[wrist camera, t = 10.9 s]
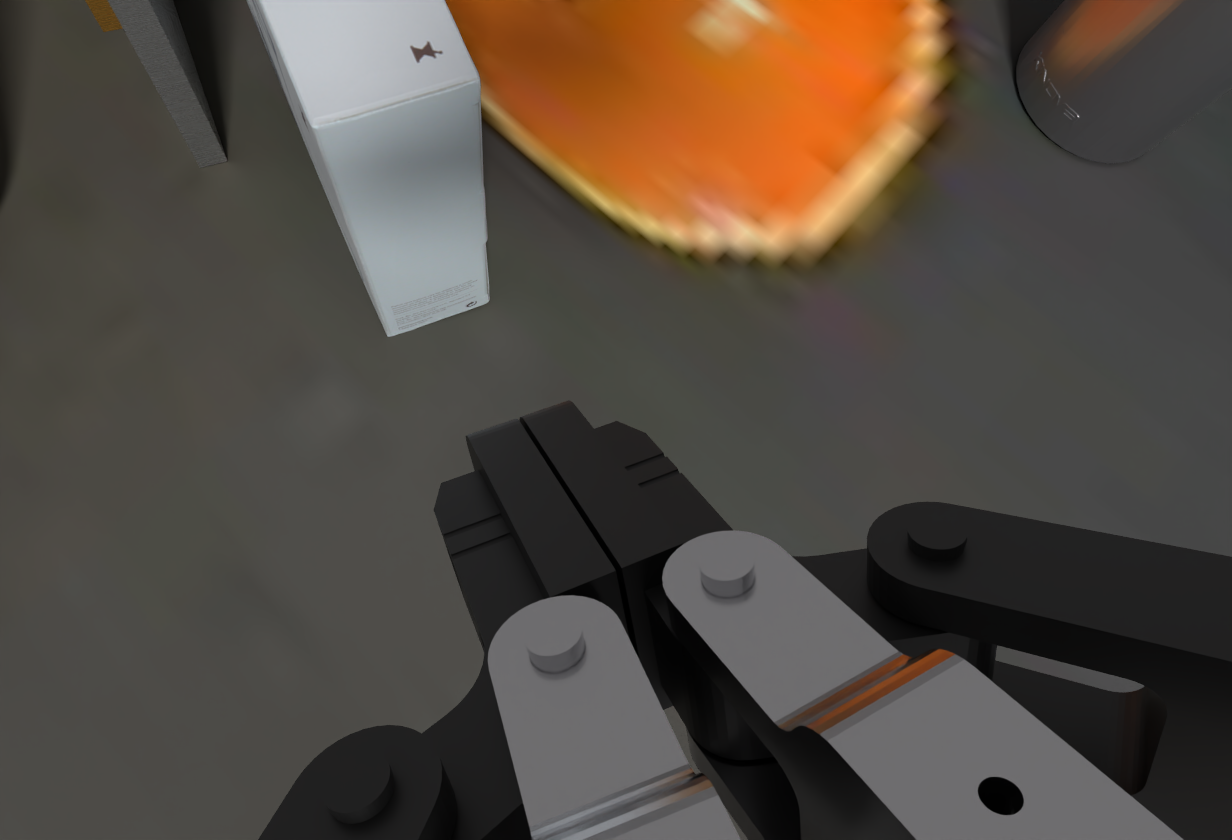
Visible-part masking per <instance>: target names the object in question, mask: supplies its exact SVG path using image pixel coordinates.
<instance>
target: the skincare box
mask: <svg viewBox="0 0 1232 840" xmlns="http://www.w3.org/2000/svg"><path fill="white" fill-rule="evenodd" d="M247 3H248V5H249V8H250V10H251V13H252V15H253V18H254V20H255V23H256V26H257V28H258V31H259V33H260V36H261V38H262V40H263V43H264V45H265V48H266V50H267V53H268V55H269V58H270V60H271V63H272V65H273V68H274V70H275V72H276V75H277V77H278V80H279V82H280V85H281V87H282V90H283V92H284V95H285V97H286V100H287V102H288V104H289V107H290V109H291V112H292V114H293V116H294V119H295V121H296V124H297V126H298V128H299V131H300V133H301V136H302V138H303V140H304V143H305V145H306V148H307V150H308V152H309V155H310V157H311V160H312V162H313V164H314V167H315V169H316V172H317V174H318V176H319V179H320V181H321V184H322V186H323V188H324V191H325V193H326V196H327V198H328V200H329V203H330V205H331V208H332V210H333V212H334V215H335V217H336V220H337V222H338V224H339V227H340V229H341V231H342V234H343V236H344V238H345V241H346V243H347V245H348V248H349V250H350V253H351V255H352V257H353V260H354V262H355V264H356V267H357V269H358V271H359V274H360V276H361V278H362V280H363V283H364V285H365V287H366V289H367V292H368V294H369V296H370V298H371V301H372V303H373V305H374V307H375V310H376V312H377V314H378V316H379V319H380V321H381V323H382V325H383V328H384V330H385V332H386V334H387V336H388V337H389V336H394V335H397V334H400V333H403V332H407V331H410V330H413V329H415V328H418V327H421V326H424V325H426V324H429V323H432V322H435V321H438V320H441V319H444V318H446V317H449V316H452V315H455V314H458V313H461V312H464V311H467V310H470V309H472V308H475V307H478V306H481V305H483V304H486V303H487V302H489V300H490V296H489V278H488V266H487V254H486V241H487V239H488V236H487V221H486V205H485V189H484V185H483V151H482V124H481V98H480V92H481V83H480V76H479V73H478V71H477V69H476V67H475V65H474V63H473V61H472V58H471V56H470V54H469V52H468V50H467V48H466V46H465V44H464V41H463V39H462V37H461V34H460V32H459V30H458V28H457V25H456V23H455V21H454V19H453V17H452V15H451V13H450V10H449V8H448V6H447V4H446V2H445V0H247Z"/></svg>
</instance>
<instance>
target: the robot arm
mask: <svg viewBox="0 0 1232 840" xmlns="http://www.w3.org/2000/svg"><path fill="white" fill-rule="evenodd" d="M1016 79H1017V86H1018V90H1019V94H1020V97H1021V100H1022V102H1023V104H1024V106H1025V108H1026V110H1027V112H1028V114H1029V115H1030V117H1031V118H1032V119H1033V121H1034V122H1035V124H1036V125H1037V126H1038V127H1039V128H1040V129H1041V130H1042V131H1043V132H1044V133H1045V134H1046V135H1047V136H1048V138H1050V139H1051V140H1052V141H1054V142H1055V143H1056V144H1058V145H1059V146H1060V147H1062V148H1063V149H1065V150H1067V151H1069V152H1071V153H1073V154H1075V155H1076V156H1078V157H1081V158H1084V159H1088V160H1091V161H1094V162H1101V163H1109V164H1113V163H1124V162H1128V161H1131V160H1134V159H1137V158H1139V157H1140V156H1142V155H1143V154H1145V153H1146V152H1148V151H1149V150H1150V149H1152V148H1153V147H1154V146H1156V145H1157V144H1158V143H1160V142H1161V141H1162V140H1164V139H1165V138H1166V137H1168V136H1169V135H1170V134H1172V133H1173V132H1174V131H1176V130H1177V129H1178V128H1180V127H1181V126H1182V125H1184V124H1185V123H1186V122H1188V121H1189V120H1190V119H1192V118H1193V117H1194V116H1196V115H1197V114H1198V113H1199V112H1201V111H1203V110H1204V109H1205V108H1206V107H1208V106H1209V105H1210V104H1212V103H1213V102H1214V101H1216V100H1217V99H1218V98H1220V97H1221V96H1222V95H1224V94H1225V93H1226V92H1228V91H1229V90H1230V89H1232V0H1064V1H1063V2H1062V4H1061V5H1060V6H1059V7H1058V8H1057V9H1056V10H1055V11H1054V13H1053V14H1052V15H1051V16H1050V17H1049V18H1048V19H1047V20H1046V22H1045V23H1044V24H1043V25H1042V26H1041V27H1040V28H1039V29H1038V30H1037V32H1036V33H1035V34H1034V35H1033V36H1032V37H1031V38H1030V39H1029V41H1028V42H1027V43H1026V44H1025V46H1024V48H1023V49H1022V51H1021V53H1020V55H1019V59H1018V63H1017V67H1016ZM519 420H520V421H519ZM519 420H518V419H514V420H511V421H508V422H505V423H502V424H499V425H496V426H493V427H490V428H487V429H484V430H481V431H478V432H475V433H472V434H469V435H467V436H466V441H467V445H468V449H469V453H470V456H471V459H472V463H473V466H474V470H475V471H474V472H471V473H469V474H466V475H463V476H460V477H457V478H454V479H452V480H449V481H446V482H443V483H441V486H440V489H439V493H438V496H437V500H436V504H435V507H434V512H435V515H436V518H437V521H438V524H439V527H440V530H441V532H442V535H443V538H444V541H445V544H446V547H447V550H448V553H449V556H450V559H451V562H452V565H453V568H454V571H455V574H456V577H457V580H458V583H459V585H460V588H461V591H462V594H463V597H464V600H465V602H466V605H467V608H468V610H469V613H470V616H471V618H472V621H473V623H474V626H475V629H476V632H477V634H478V637H479V640H480V642H481V645H482V648H483V650H484V661H483V665H482V668H481V671H480V674H479V676H478V678H477V680H476V682H475V684H474V686H473V687H472V688H471V690H470V691H469V693H468V694H467V695H466V697H465V698H464V699H463V700H462V701H461V702H460V703H459V704H458V705H457V706H456V707H455V708H454V709H453V710H451V711H450V712H449V713H448V714H447V715H446V716H444V717H443V718H442V719H440V720H439V721H438V722H436V723H435V724H434V725H432V726H431V727H430V728H429V729H427V730H426V731H425V732H423V733H422V734H421V733H420V732H418V731H415V730H413V729H411V728H407V727H403V726H394V725H385V726H376V727H371V728H367V729H363V730H360V731H358V732H355V733H352V734H350V735H348V736H346V737H344V738H342V739H340V740H338V741H337V742H335V743H334V744H332V745H331V746H329V747H328V748H326V749H325V750H324V751H323V752H322V753H320V754H319V755H318V756H317V757H316V758H315V759H314V760H313V761H312V762H311V763H310V764H309V765H308V766H307V767H306V768H305V769H304V770H303V772H302V773H301V775H300V776H299V777H298V779H297V780H296V781H295V783H294V785H293V786H292V788H291V789H290V791H289V792H288V794H287V796H286V797H285V799H284V800H283V802H282V803H281V805H280V806H279V808H278V810H277V811H276V813H275V814H274V816H273V817H272V819H271V821H270V822H269V824H268V825H267V827H266V828H265V830H264V832H263V833H262V835H261V836H260V838H259V839H258V840H740V838H739V836H738V834H737V832H736V829H735V827H734V825H733V823H732V821H731V819H730V817H729V815H728V813H727V811H726V809H727V810H728V812H729V813H730V815H731V816H732V817H733V819H734V820H735V822H736V823H737V824H738V826H739V827H740V829H741V830H742V832H743V833H744V834H745V836H746V837H747V839H748V840H1232V557H1229V556H1224V555H1218V554H1213V553H1208V552H1203V551H1197V550H1192V549H1187V548H1181V547H1176V546H1171V545H1165V544H1160V543H1155V542H1150V541H1144V540H1139V539H1134V538H1128V537H1123V536H1118V535H1112V534H1107V533H1102V532H1096V531H1091V530H1086V529H1081V528H1075V527H1070V526H1065V525H1059V524H1054V523H1049V522H1043V521H1038V520H1033V519H1027V518H1022V517H1017V516H1012V515H1006V514H1001V513H996V512H990V511H985V510H980V509H974V508H969V507H964V506H958V505H953V504H947V503H940V502H917V503H910V504H905V505H902V506H898V507H895V508H893V509H891V510H889V511H887V512H885V513H884V514H882V515H881V516H879V517H878V518H877V519H876V520H875V521H874V522H873V524H872V526H871V527H870V529H869V532H868V536H867V549H860V550H853V551H846V552H839V553H833V554H826V555H819V556H808V557H794V556H791V555H789V554H788V553H787V552H786V551H785V550H784V549H783V548H782V547H780V546H779V545H778V544H776V543H775V542H773V541H772V540H770V539H768V538H766V537H763V536H760V535H758V534H754V533H750V532H745V531H733V529H732V528H731V527H730V526H729V525H728V524H727V523H726V522H725V521H724V520H723V518H722V517H721V516H720V515H719V514H718V513H717V512H716V511H715V510H714V508H713V507H712V506H711V505H710V504H709V503H708V502H707V501H706V500H705V498H704V497H703V496H702V495H701V494H700V493H699V492H698V491H697V490H696V488H695V487H694V486H693V485H692V484H691V483H690V482H689V481H688V480H687V478H686V477H685V476H684V475H683V474H682V473H679V471H678V468H677V467H676V466H675V465H674V464H673V463H672V462H671V461H670V460H669V459H668V457H665V456H664V453H663V452H662V451H661V450H660V449H659V447H658V446H657V445H656V444H655V443H654V442H653V441H652V440H651V439H650V437H649V436H648V435H647V434H646V433H644V432H642V431H639V430H637V429H634V428H632V427H630V426H627V425H625V424H623V423H620V422H618V421H615V422H613V423H610V424H607V425H604V426H601V427H598V428H596V429H594V428H593V427H592V426H591V425H590V423H589V422H588V421H587V420H586V418H585V417H584V416H583V415H582V413H581V412H580V411H579V410H578V408H577V407H576V406H575V405H574V403H573V402H571V401H566V402H563V403H560V404H557V405H554V406H551V407H548V408H545V409H542V410H539V411H536V412H534V413H531V414H528V415H525V416H522V417H520V419H519ZM997 645H999V646H1003V647H1006V648H1010V649H1014V650H1018V651H1022V652H1026V653H1030V654H1033V655H1037V656H1041V657H1045V658H1049V659H1053V660H1056V661H1060V662H1064V663H1068V664H1072V665H1076V666H1080V667H1083V668H1087V669H1091V670H1095V671H1099V672H1103V673H1107V674H1110V675H1114V676H1118V677H1122V678H1126V679H1129V680H1132V681H1135V682H1138V683H1140V684H1142V685H1144V686H1145V687H1143V688H1142V689H1139V690H1137V691H1133V692H1126V693H1119V692H1111V691H1107V690H1103V689H1099V688H1095V687H1092V686H1088V685H1084V684H1081V683H1077V682H1073V681H1069V680H1066V679H1062V678H1058V677H1055V676H1051V675H1047V674H1043V673H1040V672H1036V671H1032V670H1028V669H1025V668H1021V667H1017V666H1014V665H1010V664H1006V663H1002V662H999V661H995V657H996V650H997ZM671 706H674V707H675V709H676V711H677V712H678V714H679V716H680V717H681V719H682V721H683V722H684V724H685V726H686V730H687V736H688V742H689V748H690V753H691V756H692V759H693V761H694V762H695V764H696V766H697V768H698V769H699V770H700V772H701V773H699V774H695V773H694V772H693V770H692V769H691V767H690V765H689V763H688V761H687V759H686V757H685V755H684V753H683V751H682V749H681V747H680V745H679V743H678V741H677V738H676V736H675V734H674V732H673V730H672V728H671V726H670V724H669V722H668V719H667V717H666V715H665V713H664V711H663V710H664V709H666V708H669V707H671ZM724 806H725V807H726V809H725V807H724Z"/></svg>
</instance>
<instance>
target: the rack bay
mask: <svg viewBox="0 0 1232 840" xmlns="http://www.w3.org/2000/svg"><path fill="white" fill-rule="evenodd" d="M85 1H86V3H87V4H88V6H89V8H90V9H91V11H92V13H93V15H94V16H95V18H96V20H97V21H98V23H99V25H100V26H101V28H102V30H103V32H106V31H111V30H117V29H122V28H123V29H124V31H125V33H126V35H127V37H128V38H129V40H130V42H131V44H132V46H133V47H134V49H135V51H136V53H137V55H138V56H139V58H140V60H141V62H142V64H143V65H144V67H145V69H146V71H147V73H148V74H149V76H150V78H151V80H152V82H153V83H154V85H155V87H156V89H157V91H158V93H159V94H160V96H161V98H162V100H163V102H164V103H165V105H166V107H167V109H168V111H169V112H170V114H171V116H172V118H173V120H174V121H175V123H176V125H177V127H178V129H179V130H180V132H181V134H182V136H183V138H184V139H185V141H186V143H187V145H188V147H189V149H190V150H191V152H192V154H193V156H194V158H195V159H196V161H197V163H198V165H199V167H200V168H201V167H206V166H210V165H214V164H218V163H222V162H226V161H227V158H226V155H225V152H224V149H223V146H222V143H221V140H220V137H219V134H218V131H217V128H216V125H215V122H214V119H213V117H212V114H211V111H210V108H209V105H208V102H207V99H206V96H205V93H204V90H203V87H202V84H201V81H200V78H199V75H198V72H197V69H196V66H195V63H194V60H193V58H192V55H191V52H190V49H189V46H188V43H187V40H186V37H185V34H184V31H183V28H182V25H181V22H180V19H179V16H178V13H177V10H176V7H175V4H174V2H173V0H85Z"/></svg>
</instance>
